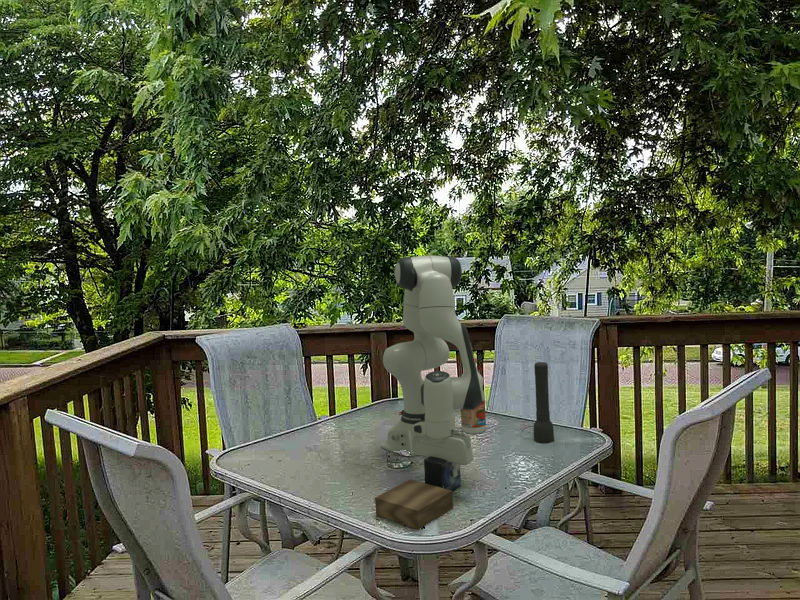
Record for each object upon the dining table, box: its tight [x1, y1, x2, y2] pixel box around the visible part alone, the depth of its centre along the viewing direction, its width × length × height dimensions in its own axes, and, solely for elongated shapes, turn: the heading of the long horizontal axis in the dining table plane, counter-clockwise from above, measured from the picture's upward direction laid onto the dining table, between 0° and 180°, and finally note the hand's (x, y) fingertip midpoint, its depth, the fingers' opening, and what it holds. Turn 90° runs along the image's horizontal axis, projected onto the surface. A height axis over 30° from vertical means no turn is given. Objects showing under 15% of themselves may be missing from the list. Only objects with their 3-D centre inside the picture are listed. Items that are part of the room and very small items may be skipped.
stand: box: [374, 479, 454, 530], centre depth 169 cm, size 15×15×5 cm
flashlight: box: [533, 361, 555, 444], centre depth 220 cm, size 7×28×7 cm
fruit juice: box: [460, 357, 487, 435], centre depth 236 cm, size 9×9×28 cm
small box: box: [423, 456, 462, 492], centre depth 182 cm, size 11×6×10 cm, turn 143°
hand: (442, 473), depth 182 cm, fingers open, 7 cm apart
